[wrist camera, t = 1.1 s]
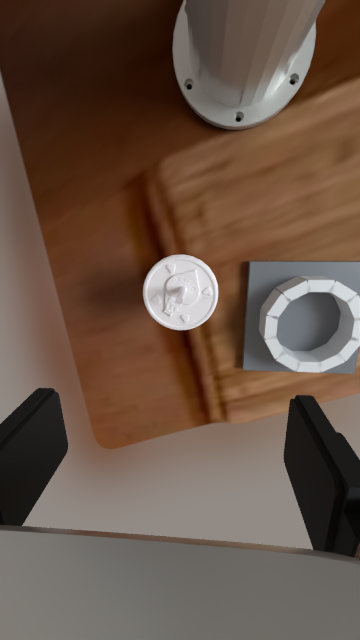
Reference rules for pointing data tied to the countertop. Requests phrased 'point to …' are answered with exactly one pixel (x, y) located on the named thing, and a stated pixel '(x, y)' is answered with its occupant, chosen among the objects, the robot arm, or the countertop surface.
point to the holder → (302, 316)
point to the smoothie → (180, 292)
